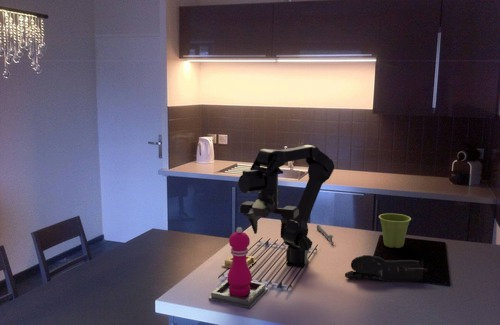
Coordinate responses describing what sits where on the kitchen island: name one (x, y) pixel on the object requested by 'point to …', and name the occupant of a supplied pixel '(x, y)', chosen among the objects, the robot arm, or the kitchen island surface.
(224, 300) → the graphite square tray
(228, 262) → the brass square tray
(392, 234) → the plant pot
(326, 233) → the combination wrench
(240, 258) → the pepper mill
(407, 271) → the black glove
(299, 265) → the robot arm
